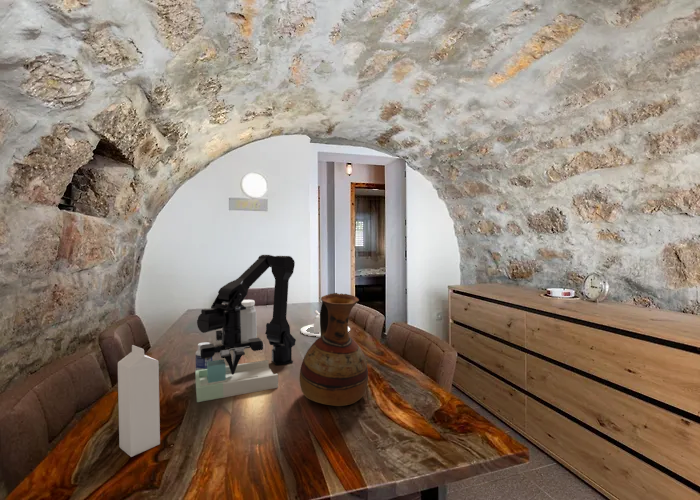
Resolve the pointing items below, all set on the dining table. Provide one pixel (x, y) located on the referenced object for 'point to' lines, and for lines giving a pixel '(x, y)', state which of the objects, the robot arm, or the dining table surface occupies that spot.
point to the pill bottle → (201, 362)
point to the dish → (316, 326)
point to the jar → (248, 321)
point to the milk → (138, 402)
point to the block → (216, 371)
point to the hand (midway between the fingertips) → (232, 374)
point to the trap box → (236, 381)
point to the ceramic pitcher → (334, 357)
